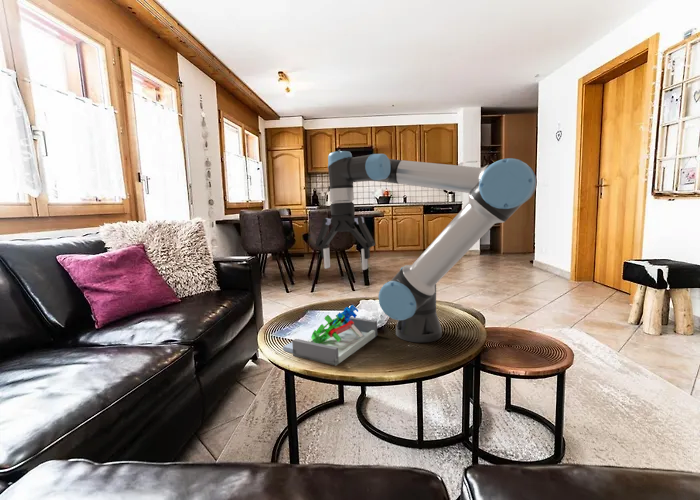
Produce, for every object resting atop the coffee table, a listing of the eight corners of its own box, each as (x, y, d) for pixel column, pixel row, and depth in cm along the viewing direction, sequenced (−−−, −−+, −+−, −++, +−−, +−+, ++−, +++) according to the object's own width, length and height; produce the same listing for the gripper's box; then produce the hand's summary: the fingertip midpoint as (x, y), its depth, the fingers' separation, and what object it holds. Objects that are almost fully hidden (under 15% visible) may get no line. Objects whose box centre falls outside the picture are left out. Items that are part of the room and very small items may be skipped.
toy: (344, 324, 126) (358, 301, 120) (363, 344, 122) (378, 321, 116) (303, 343, 110) (317, 317, 105) (323, 366, 106) (338, 340, 101)
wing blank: (298, 344, 116) (298, 338, 116) (308, 347, 114) (307, 341, 114) (283, 352, 111) (282, 346, 110) (292, 355, 108) (292, 349, 108)
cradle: (377, 335, 121) (376, 320, 121) (335, 366, 99) (335, 349, 98) (339, 328, 129) (338, 315, 128) (293, 356, 107) (292, 340, 106)
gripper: (383, 200, 112) (386, 267, 114) (314, 204, 122) (318, 265, 125) (374, 200, 105) (377, 271, 107) (302, 204, 116) (306, 269, 118)
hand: (345, 268), depth 116 cm, fingers open, 13 cm apart
